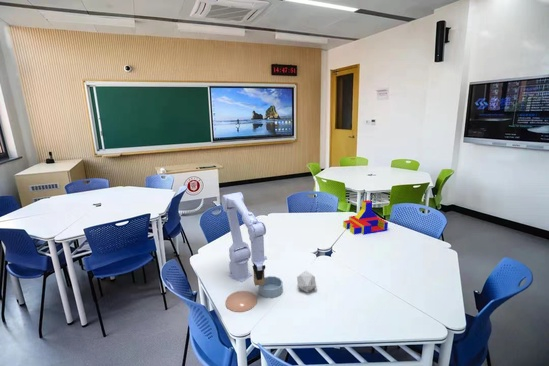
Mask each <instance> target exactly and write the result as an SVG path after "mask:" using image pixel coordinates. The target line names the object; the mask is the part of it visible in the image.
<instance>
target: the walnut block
mask: <svg viewBox="0 0 549 366" xmlns="http://www.w3.org/2000/svg"><path fill="white" fill-rule="evenodd" d="M252 271H253V283H254V286H255V287H257V286H259V285H265V278H264V277H265V271H264V272H263V276H262V280H257V278H256V274H255V271H254V270H252Z"/></svg>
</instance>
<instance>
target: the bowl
mask: <svg viewBox="0 0 549 366" xmlns="http://www.w3.org/2000/svg"><path fill="white" fill-rule="evenodd" d="M264 278H265V285H258V293H259V294H260V296H262V297H264V298H268V299H274V298H277V297H279V296H281V295H282V294H283V291H284V287H283V286H284V285H283V283H284V282H283V280H282V279H281V278H280V277H277V276H274V275H273V276H272V275H269V276H264Z"/></svg>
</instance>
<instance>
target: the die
mask: <svg viewBox="0 0 549 366" xmlns="http://www.w3.org/2000/svg"><path fill="white" fill-rule="evenodd" d="M296 278H297V279H296V281H297V287H298V288H299V289H301V290H302V291H303V292H306V293H309V292H310V291H311V290H313V289H314V288H316V287H317V283H316V282H317V281H316V276H315V275H313V274H311V273H310V272H309V271H308V270H304V271H303V272H302V273H300V274H299V275H297V277H296Z"/></svg>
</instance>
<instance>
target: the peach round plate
mask: <svg viewBox="0 0 549 366" xmlns="http://www.w3.org/2000/svg"><path fill="white" fill-rule="evenodd" d="M257 302H258V297H257V295H256V294H254V293H253V292H252V291H249V290H239V291H235V292H233V293H231V294H229V295H228V296H227V297H226V299H225V307H226V309H227V310H229V311H231V312H233V313H244V312H248V311H250V310H252V309H253V308H255V306H256V305H257Z"/></svg>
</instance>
